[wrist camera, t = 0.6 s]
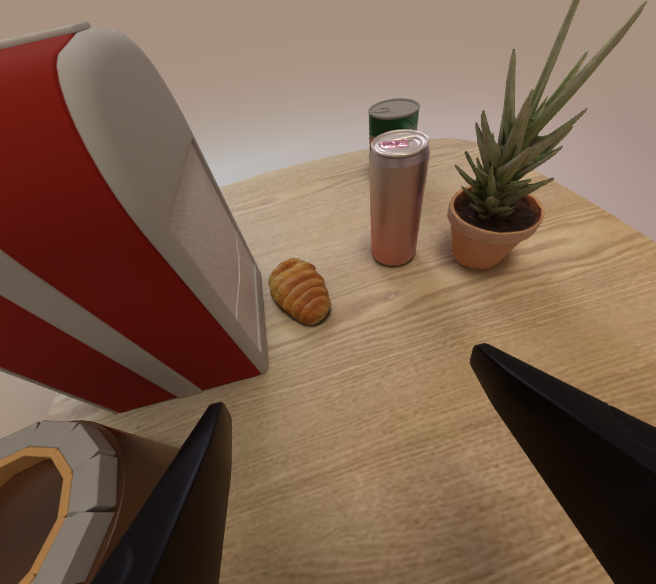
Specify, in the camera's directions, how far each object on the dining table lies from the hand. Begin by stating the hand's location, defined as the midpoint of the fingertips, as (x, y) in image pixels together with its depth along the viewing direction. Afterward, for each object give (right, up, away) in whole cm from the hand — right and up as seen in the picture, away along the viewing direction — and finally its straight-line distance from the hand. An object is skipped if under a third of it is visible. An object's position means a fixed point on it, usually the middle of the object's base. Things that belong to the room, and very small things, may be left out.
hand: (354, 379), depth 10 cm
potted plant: (+19, +8, +27) cm, 34 cm away
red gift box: (-17, -2, +25) cm, 31 cm away
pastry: (-4, +3, +26) cm, 27 cm away
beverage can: (+8, +8, +29) cm, 31 cm away
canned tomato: (+11, +25, +42) cm, 50 cm away
